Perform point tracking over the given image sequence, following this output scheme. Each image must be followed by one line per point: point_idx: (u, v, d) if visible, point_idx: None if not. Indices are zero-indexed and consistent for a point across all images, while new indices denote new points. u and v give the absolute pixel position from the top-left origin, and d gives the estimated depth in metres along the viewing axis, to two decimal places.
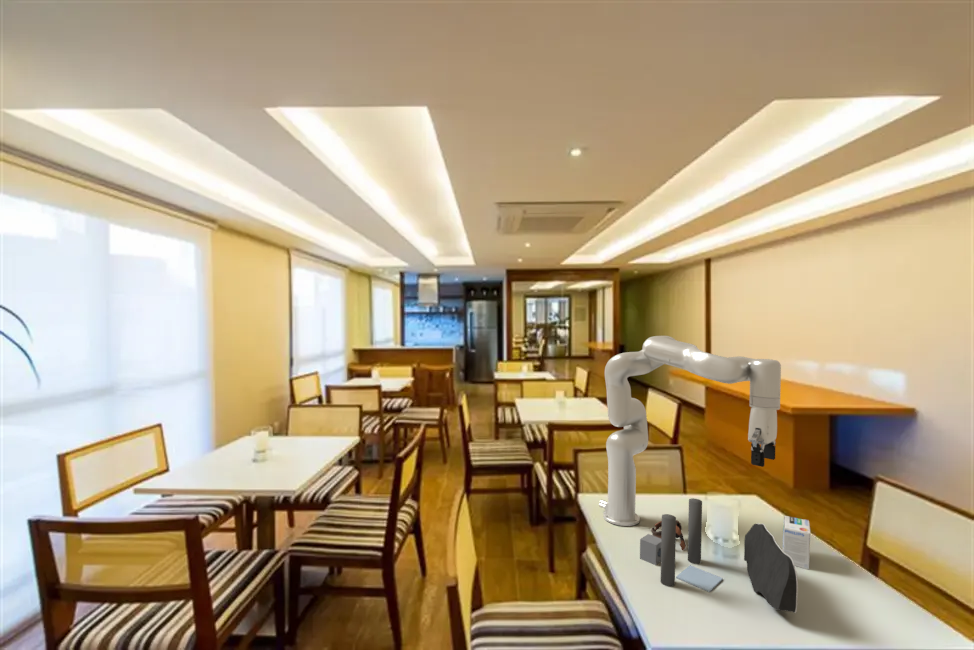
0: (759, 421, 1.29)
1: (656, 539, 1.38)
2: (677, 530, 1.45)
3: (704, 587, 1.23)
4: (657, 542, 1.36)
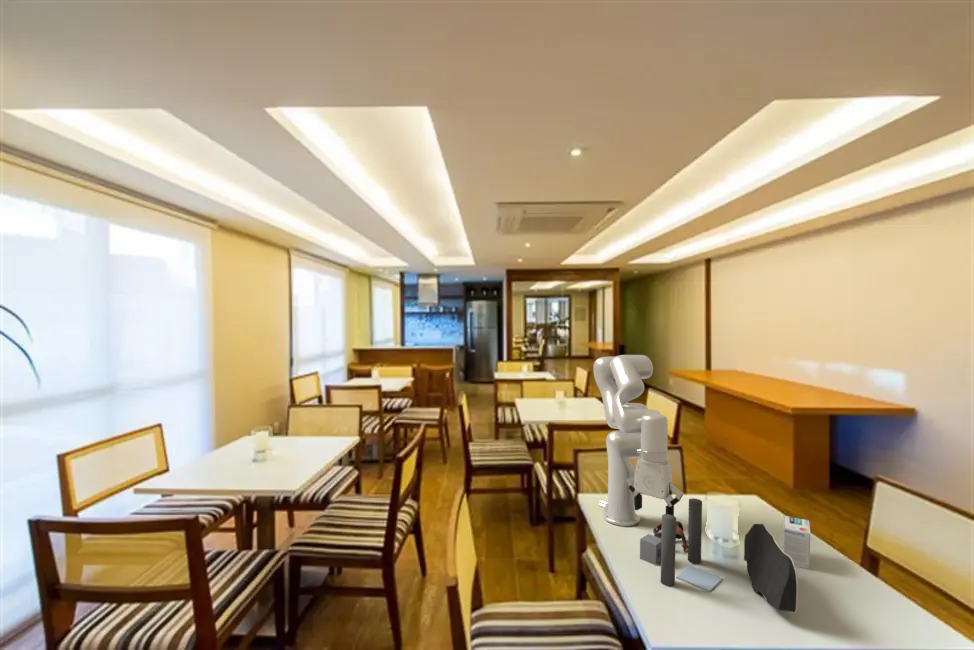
0: (670, 475, 1.34)
1: (656, 539, 1.38)
2: (679, 531, 1.45)
3: (704, 587, 1.23)
4: (657, 542, 1.36)
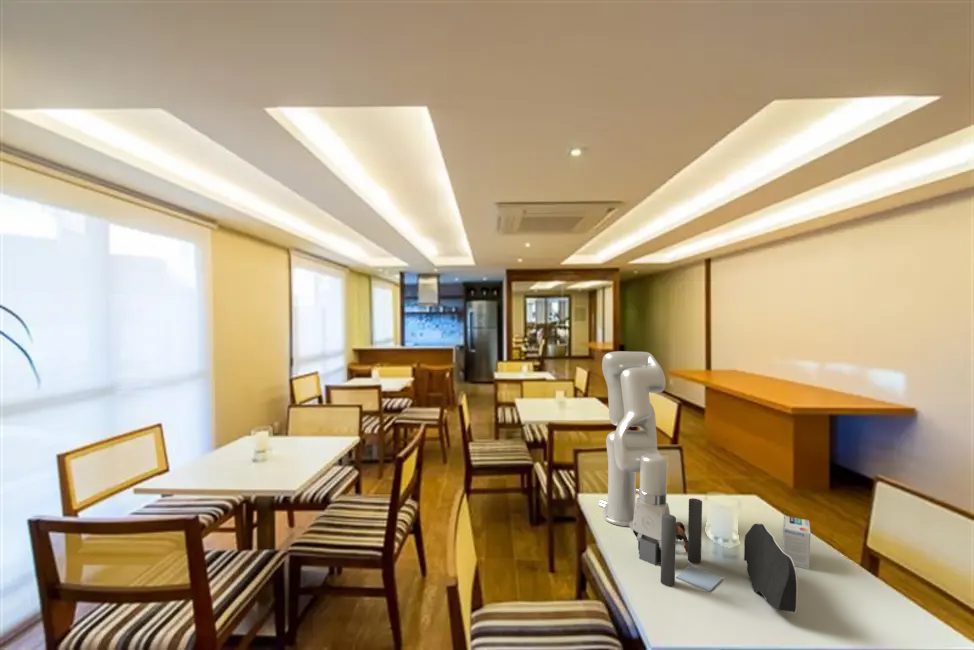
0: None
1: None
2: (681, 532, 1.44)
3: (704, 587, 1.23)
4: (657, 541, 1.37)
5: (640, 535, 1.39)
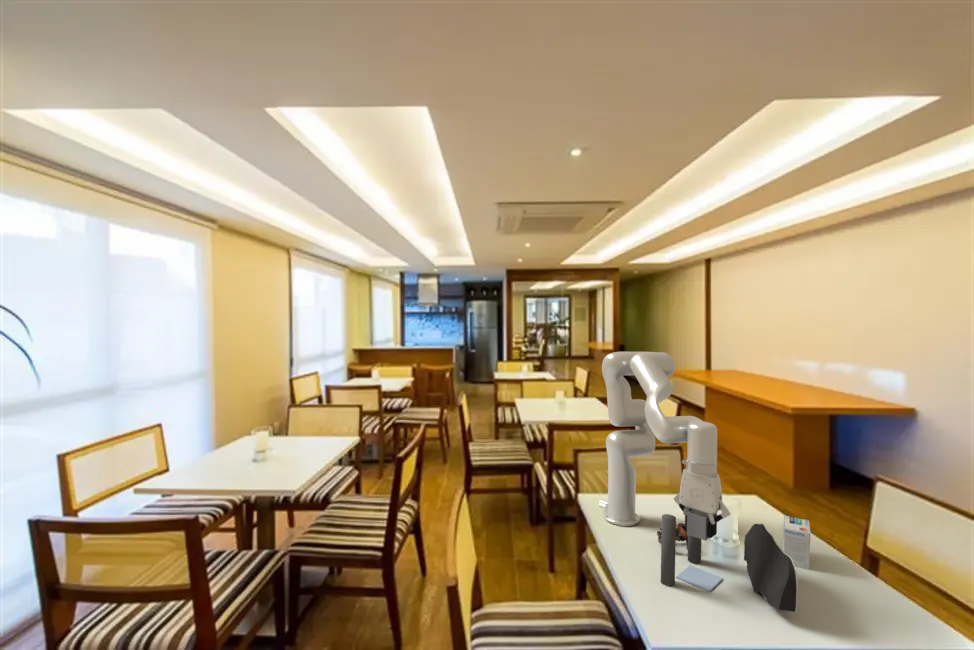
0: (720, 489, 1.24)
1: (704, 512, 1.28)
2: (683, 533, 1.43)
3: (704, 587, 1.23)
4: (706, 515, 1.26)
5: (687, 509, 1.29)
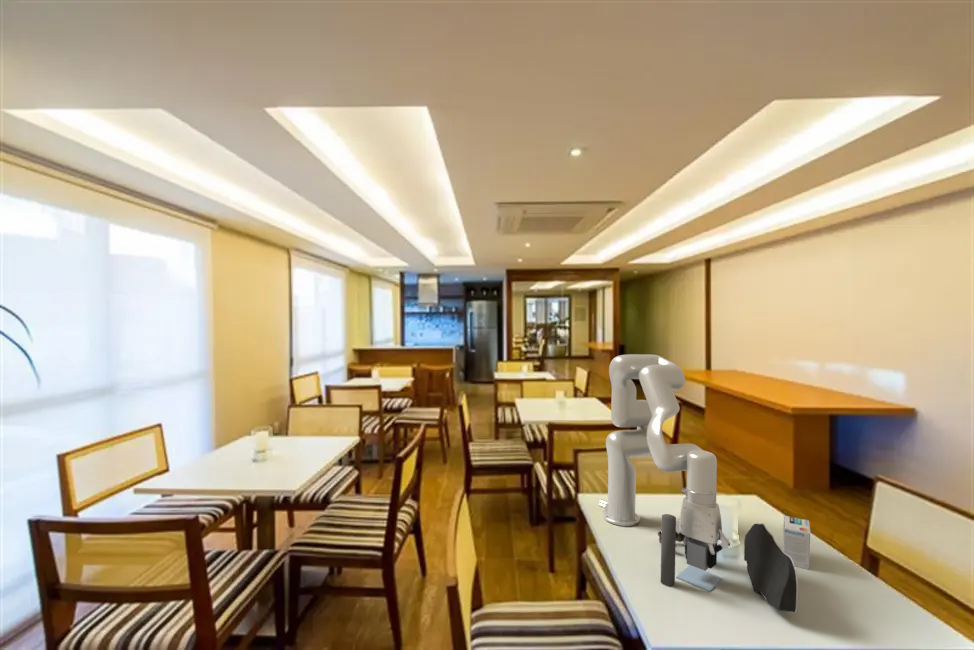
0: (719, 519, 1.24)
1: None
2: None
3: (704, 587, 1.23)
4: (706, 545, 1.26)
5: (687, 538, 1.29)
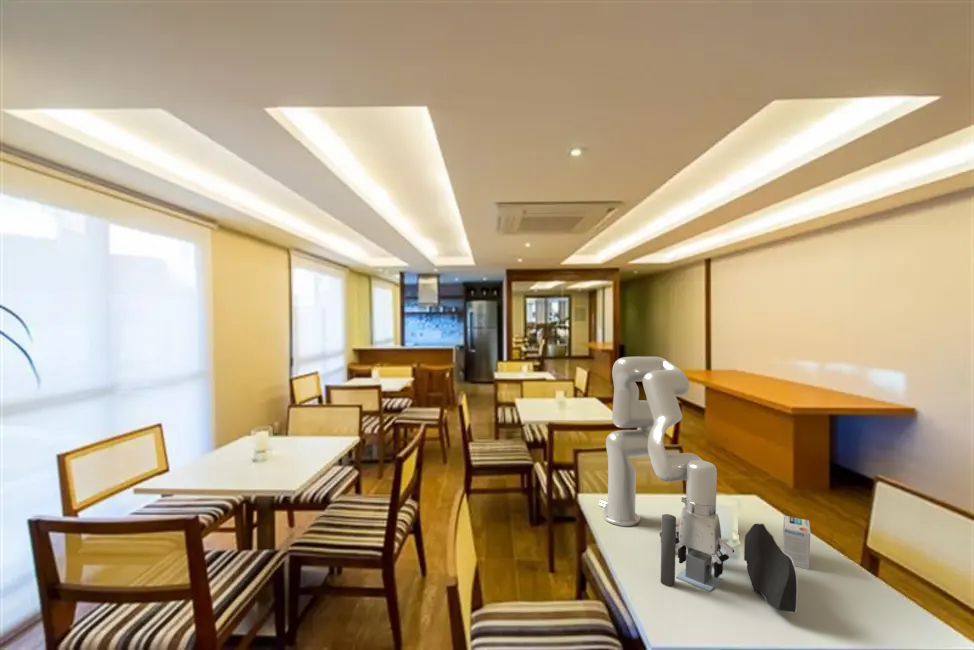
0: (719, 529, 1.24)
1: (703, 555, 1.28)
2: None
3: (704, 587, 1.23)
4: (705, 558, 1.26)
5: (680, 542, 1.31)
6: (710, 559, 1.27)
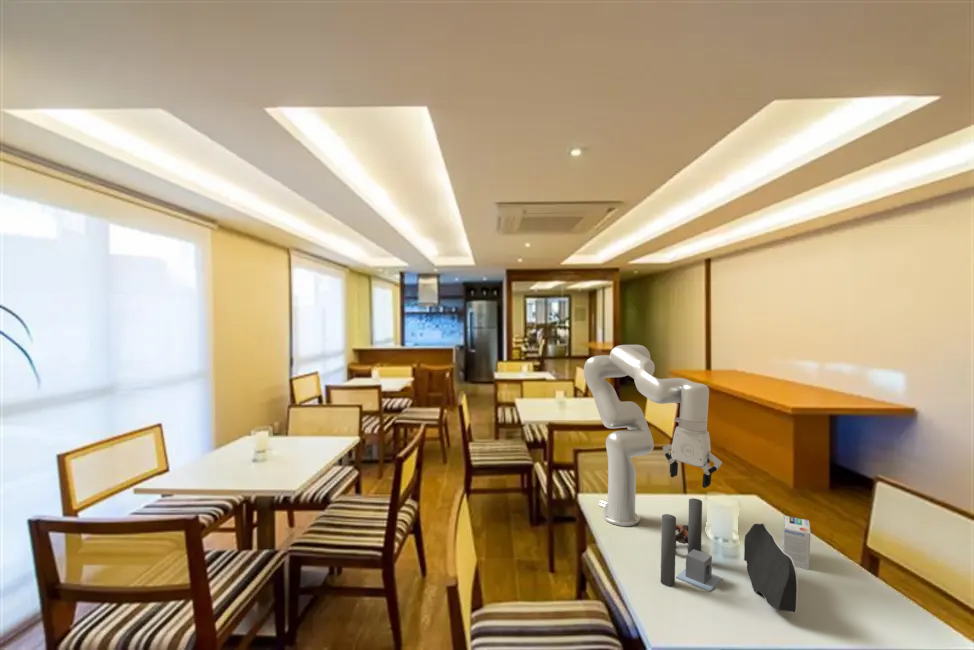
0: (709, 444, 1.34)
1: (703, 555, 1.28)
2: None
3: (704, 587, 1.23)
4: (705, 558, 1.26)
5: (672, 458, 1.41)
6: (710, 559, 1.27)
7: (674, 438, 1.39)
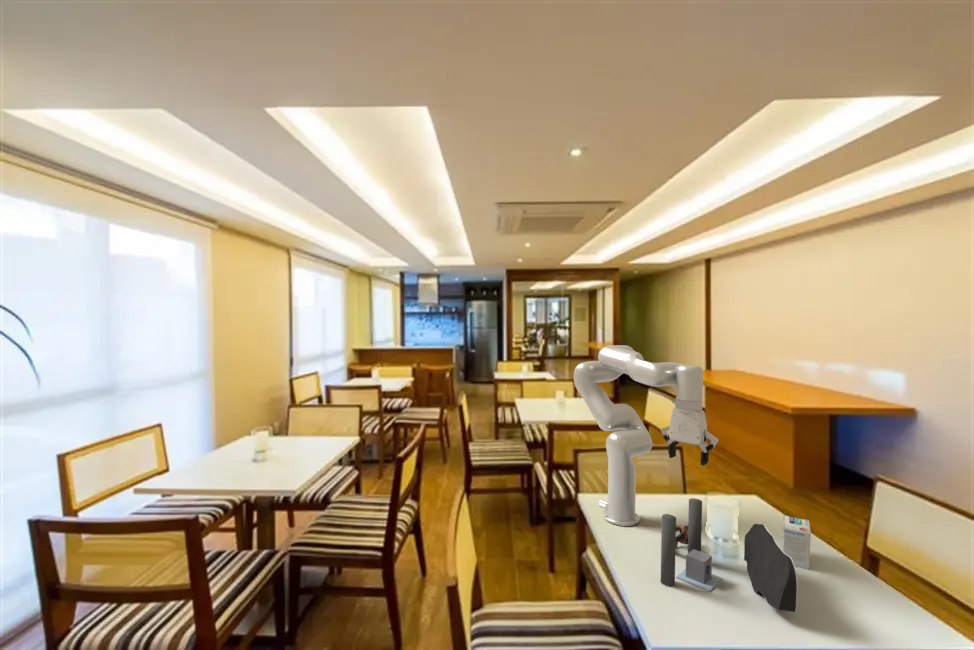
0: (705, 423, 1.39)
1: (703, 555, 1.28)
2: None
3: (704, 587, 1.23)
4: (705, 558, 1.26)
5: (670, 439, 1.45)
6: (710, 559, 1.27)
7: (671, 419, 1.44)
